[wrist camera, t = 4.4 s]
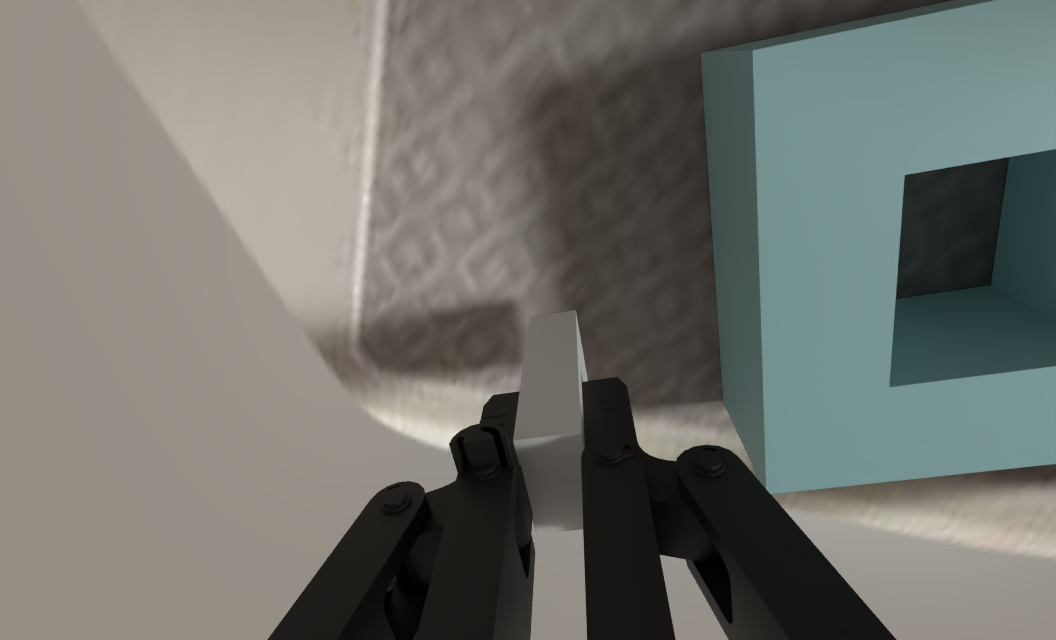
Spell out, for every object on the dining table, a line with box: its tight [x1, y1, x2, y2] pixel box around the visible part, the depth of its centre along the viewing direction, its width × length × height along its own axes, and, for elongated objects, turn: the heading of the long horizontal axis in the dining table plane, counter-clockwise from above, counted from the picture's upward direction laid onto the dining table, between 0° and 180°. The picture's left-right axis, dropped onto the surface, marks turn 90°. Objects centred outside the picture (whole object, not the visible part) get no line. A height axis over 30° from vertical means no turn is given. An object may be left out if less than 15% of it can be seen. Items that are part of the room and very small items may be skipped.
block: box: [700, 0, 1056, 494], centre depth 16 cm, size 12×12×5 cm
